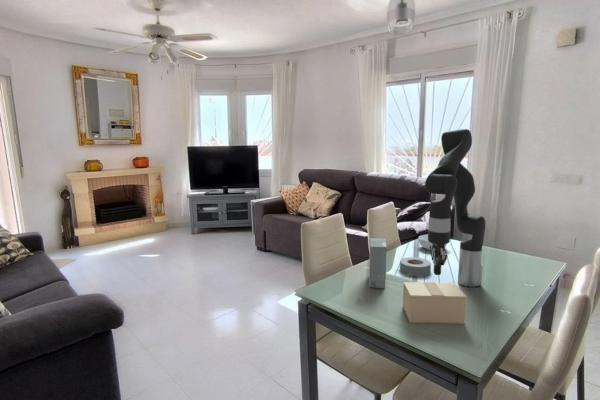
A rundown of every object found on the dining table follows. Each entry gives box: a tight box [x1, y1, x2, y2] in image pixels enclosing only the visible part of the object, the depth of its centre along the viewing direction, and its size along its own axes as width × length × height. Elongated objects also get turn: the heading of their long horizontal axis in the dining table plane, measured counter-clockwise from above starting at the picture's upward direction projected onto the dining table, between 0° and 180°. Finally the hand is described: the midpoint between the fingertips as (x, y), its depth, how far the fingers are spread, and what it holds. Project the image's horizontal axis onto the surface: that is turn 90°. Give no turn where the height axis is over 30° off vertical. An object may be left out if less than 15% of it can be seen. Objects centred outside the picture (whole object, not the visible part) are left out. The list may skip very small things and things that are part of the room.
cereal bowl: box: [418, 234, 448, 251], centre depth 215 cm, size 17×17×7 cm
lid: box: [403, 281, 468, 300], centre depth 131 cm, size 20×12×1 cm, turn 85°
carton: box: [402, 284, 467, 325], centre depth 132 cm, size 20×12×10 cm, turn 85°
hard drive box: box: [368, 237, 387, 289], centre depth 164 cm, size 16×8×20 cm, turn 168°
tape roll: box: [399, 256, 432, 277], centre depth 179 cm, size 15×15×5 cm
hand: (437, 274), depth 127 cm, fingers closed
